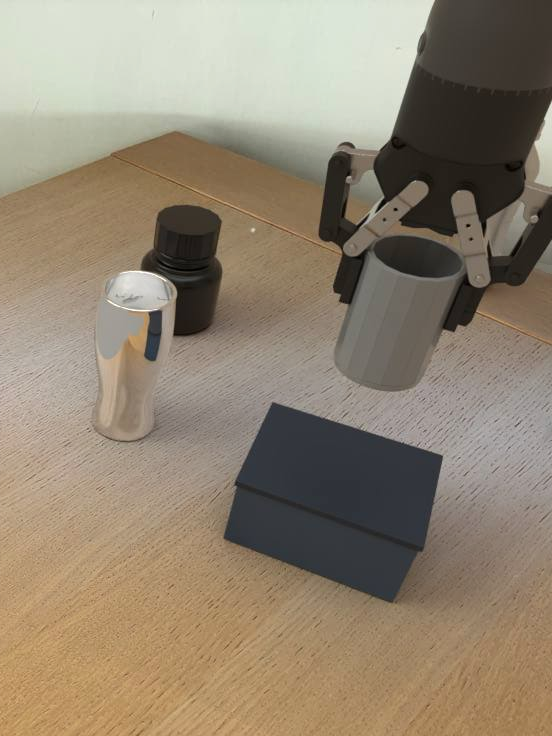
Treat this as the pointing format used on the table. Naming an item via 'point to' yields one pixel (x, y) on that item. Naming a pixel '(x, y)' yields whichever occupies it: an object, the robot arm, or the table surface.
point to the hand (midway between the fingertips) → (396, 310)
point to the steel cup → (398, 310)
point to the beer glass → (131, 350)
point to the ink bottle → (188, 262)
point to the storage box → (334, 500)
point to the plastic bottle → (505, 217)
